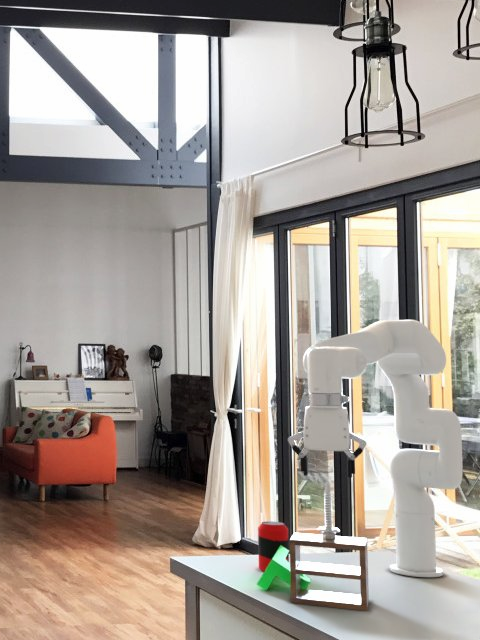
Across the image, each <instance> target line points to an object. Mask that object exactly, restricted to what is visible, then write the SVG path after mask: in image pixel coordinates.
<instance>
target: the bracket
mask: <svg viewBox="0 0 480 640" xmlns="http://www.w3.org/2000/svg"><path fill="white" fill-rule="evenodd" d="M288 553H289V554H290V549H289V550H287V549H286V548H284V547H283V546H281V545H280V547H279V549H278V550H277V552H276V554H275V555H274V557H273V558H272V560H271V562H270V563H269V565H268V567H267V568H266V570H265V572H264V571H263V573H262V575H261V576H260V578H259V580H258V581H257V583H256V585H257V586H259V587H260V588H261V589H263V590H264V591H268V588H269V587H270V585H271V584H272V582H273V580H274V579H275V577H277V578H279V579H280V580H282V581H283V582H285V583H286V584H287V585H288V586H291V579H290V561H289V562H288V561H287V560H286V559H285V558H286V556H287V555H288ZM311 582H312V580H311V578H310V577H309V575H304V574H301V589H306V590H308V589H307V588H308V587H309V585H310V584H311Z"/></svg>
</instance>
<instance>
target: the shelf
mask: <svg viewBox="0 0 480 640" xmlns="http://www.w3.org/2000/svg"><path fill="white" fill-rule="evenodd" d="M301 547H313V548H323V549H324V548H325V549H336V550H347V551H348V550H349V551H358V552H359V566H358V565H357V566H355V565H347V564H346V565H345V564H334V563H324V562H323V563H322V562H311V561H301ZM368 553H369V552H368V538H367V537H356V536H341V535H335V539H334V540H326V539H323V538H322V534H318V533H317V534H315V533H306V532H305V533H301V532H294V533H293V534H292V535H291V537H290V539H289V563H290V579H291V585H290V603H291V604H296V605H297V604H298V605H307V606H318V607H325V608H326V607H329V608H336V609H346V610H353V611H354V610H355V611H363V612H364V611H365V612H368V608H369V602H370V595H369V594H370V593H369V588H370V587H369V560H368V559H369V555H368ZM301 574H304V575H307V576H314V577H326V578H327V577H328V578H335V579H336V578H337V579H348V580H358V581H359V583H360V594H355V593H345V592H335V591H324V590H314V589H301Z"/></svg>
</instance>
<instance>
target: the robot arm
mask: <svg viewBox="0 0 480 640" xmlns="http://www.w3.org/2000/svg"><path fill="white" fill-rule="evenodd" d="M375 363H376V364H377V365H378V367H379V368H380V370H381V371H382V372H383V374H384V375H385V376H386V378H387V379H388V381H389V383H390V386H391V388H392V392H393V413H394V414H393V415H394V416H393V417H394V421H393V422H394V432H395V435H396V438H397V439H398V440H399V441H400V442H403V443H405V444H412V445H423V446H437V448H438V450H427V449H419V448H401V449H398V450H395V451H394V452H393V453H392V454H391V455H390V457H389V461H388V467H389V472H390V477H391V483H392V489H393V500H394V528H395V529H394V530H395V531H394V533H395V560H396V561H395V562H396V563H393V564H390V565H389V570H390V571H391V573H394V574H397V575H402V576H406V577H415V578H439V577H442V576H443V575H444V570H443V569H442V568H440V567H437V548H436V546H437V545H436V543H437V542H436V520H435V519H436V517H435V515H436V513H435V504H434V500H433V499H432V497H431V495H430V494H429V493H428V491H427V490H426V488H427V489H437V490H438V489H439V490H455V489H458V488H459V487H460V486H461V483H462V481H463V471H464V469H463V465H464V464H463V441H462V439H463V437H462V436H463V435H462V425H461V421H460V419H459V417H458V415H457V414H456V412H454V411H453V410H450V409H448V408H436V407H434V408H433V407H431V406H430V398H429V397H430V396H429V388H428V385H427V384H426V382H425V381H424V379H423V378H422V377H421V375H422V376H434V375H439V374H441V373H442V372H443V371H444V370H445V368H446V364H447V355H446V352H445V349H444V347H443V345H442V344H441V342H440V341H439V340H438V339H437V337H436V336H435V335H434V333H432V331H431V330H430V329H429V328H428V327H427V326H426V325H425V324H423V323H422V322H421V321H418V320H416V319H382V320H377V321H375V322H373V323H371V324H369V325H368V326H366V327H364V328H361V329H360V330H358V331H355V332H351V333H346V334H343V335H338V336H333V337H330V338H326V339H323V340H320V341H318V342H316V343H314V344H312V345H310V346H309V347H308V348H307V349H306V350H305V352H304V354H303V357H302V366H303V369H304V371H305V373H306V374H307V395H308V396H307V398H308V406H305V408H304V417H303V430H301V431H299V432H297V433H296V434H293V435H291V436H289V437H287V442H288V444H289V445H290V447H291V449H292V450H293V452H294V453H295V454H296V455H297V456H298V457H299V459H300V471H301V472H303V476H308V475H309V458H308V456H307V454H308V453H309V452H310V451H325V452H344V454H345V455H346V456H347V457H348V459H347V478H349V479H352V477H353V475H355V474H356V460H357V458H358V457H359V456H360V455H362V454H363V451H364V450H365V447H366V446H367V444H368V441H367V439H365V438H363V437H361V436H359V435H357V434H355V433H353V432H351V425H350V418H349V413H348V412H349V411H348V408H347V407H346V406H344V404H346V403H350V396H346V395H344V393H343V379H347V380H348V379H349V380H350V379H356V378H359V377H361V376H362V375H363V374H364V373H365V371H366V369H367V366H368V365H372V364H375ZM302 438H303V439H302ZM299 439H302V440H303V445H304V448H303V449H302V448H301V447H299V446H298V445H297V443H296V441H298V440H299ZM351 440H352V441H354V442H356V443H358V444H359V445H358V447H357V448H356V450H354V451H353V450H352V449H351V446H352V443H351V442H352V441H351Z"/></svg>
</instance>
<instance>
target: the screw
mask: <svg viewBox="0 0 480 640" xmlns="http://www.w3.org/2000/svg"><path fill="white" fill-rule="evenodd" d="M331 489H332V487H331V483H330V481H328V480H327V481H325V482H324V491H323V504H324V507H323V508H324V509H323V511H324V523H323V524H324V526H319V527H318V528H316V530H317V531H318V532H320V533H321V535H322V538H323V539H326V540H334V539H335V536H336V535H337V533H340V532H341V530H340V529H339V528H338V527H334V526H333V506H332V505H333V503H332V502H333V498H332V497H333V495H332V490H331Z"/></svg>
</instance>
